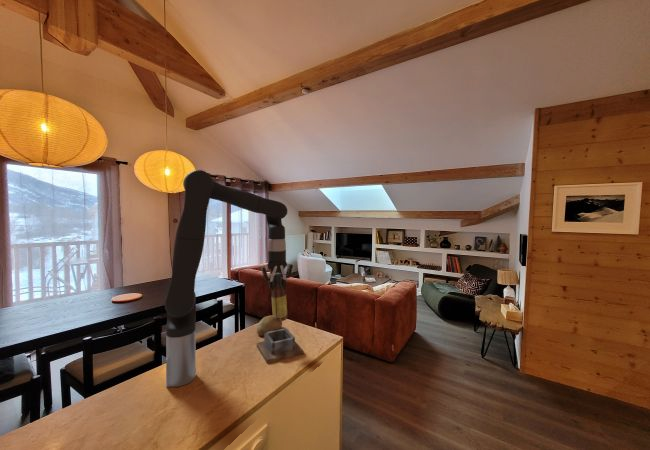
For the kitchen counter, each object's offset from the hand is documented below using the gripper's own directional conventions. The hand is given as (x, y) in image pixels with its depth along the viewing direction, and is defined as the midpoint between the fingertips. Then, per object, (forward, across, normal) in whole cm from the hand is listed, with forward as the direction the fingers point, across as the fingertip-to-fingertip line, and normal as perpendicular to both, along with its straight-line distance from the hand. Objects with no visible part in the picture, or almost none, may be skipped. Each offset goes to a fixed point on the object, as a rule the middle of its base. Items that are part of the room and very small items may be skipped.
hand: (277, 288), depth 112 cm
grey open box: (+28, +1, +2) cm, 28 cm away
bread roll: (+28, +3, +22) cm, 36 cm away
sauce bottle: (+14, +1, 0) cm, 14 cm away
